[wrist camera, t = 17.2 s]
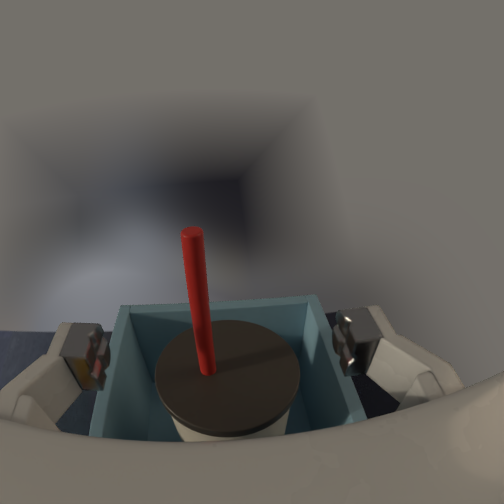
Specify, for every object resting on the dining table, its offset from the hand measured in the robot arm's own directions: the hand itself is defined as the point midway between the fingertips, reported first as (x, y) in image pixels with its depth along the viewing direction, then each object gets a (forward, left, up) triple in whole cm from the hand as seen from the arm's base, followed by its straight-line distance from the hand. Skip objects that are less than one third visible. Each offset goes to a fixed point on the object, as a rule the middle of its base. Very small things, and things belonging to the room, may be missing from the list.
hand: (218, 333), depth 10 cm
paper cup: (0, -1, -14) cm, 14 cm away
